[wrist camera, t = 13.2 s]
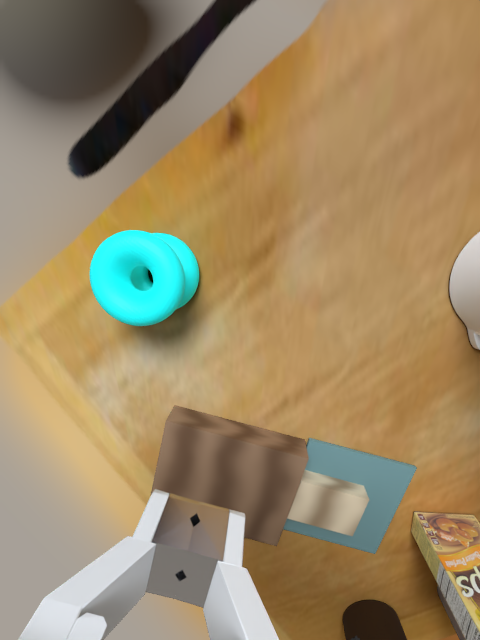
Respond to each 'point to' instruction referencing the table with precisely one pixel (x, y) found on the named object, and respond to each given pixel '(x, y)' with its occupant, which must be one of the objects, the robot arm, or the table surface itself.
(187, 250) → the donuts
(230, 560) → the robot arm
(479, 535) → the candy box
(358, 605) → the olive oil
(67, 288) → the table surface
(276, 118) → the table surface
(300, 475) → the walnut board
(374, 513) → the teal mat
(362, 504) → the cream block
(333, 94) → the table surface
